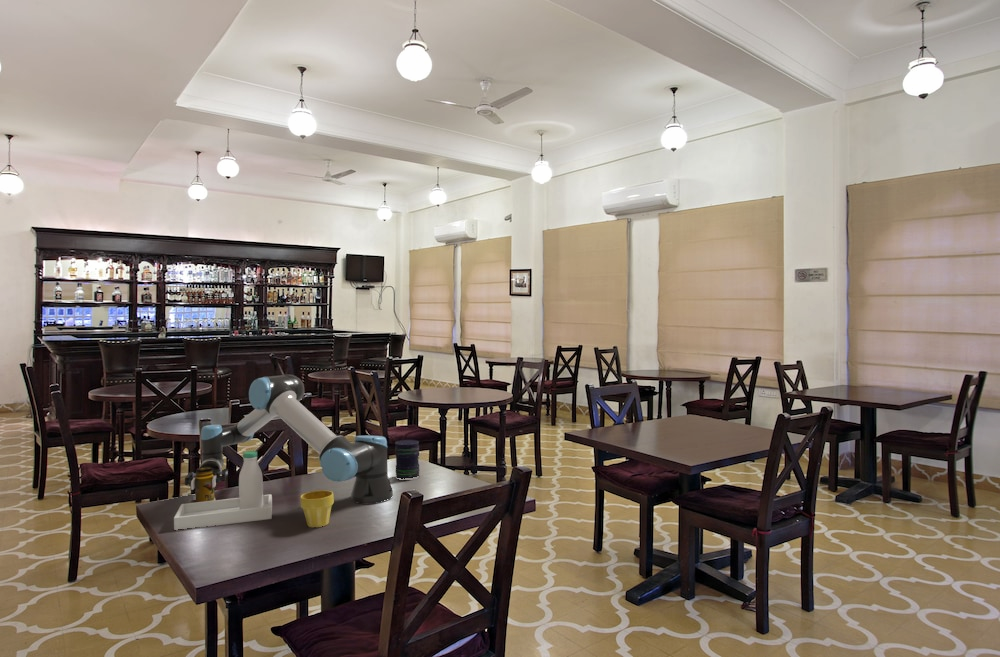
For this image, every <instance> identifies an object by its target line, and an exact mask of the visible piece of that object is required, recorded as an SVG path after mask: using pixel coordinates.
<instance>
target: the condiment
mask: <svg viewBox="0 0 1000 657" xmlns="http://www.w3.org/2000/svg"><path fill="white" fill-rule="evenodd" d="M195 473H196V477H195V488H194V489H195V491H194V492H195V493H194V494H195V499H189V500H188V503H196V502H205V501H214V500H216V497H215V487H213V488H212V479H213V477H214V475H213V474H212V473H213V472H212V467H201V468H200V467H198V468H196V469H195Z"/></svg>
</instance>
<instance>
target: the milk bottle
mask: <svg viewBox="0 0 1000 657" xmlns="http://www.w3.org/2000/svg"><path fill="white" fill-rule="evenodd" d="M242 459H243V462H242V467H241V470H240V471H239V476H238V498H239V509H240V510H241V509H250V508H258V507H263V495H264V481H263V479H264V478H263V472H262V470H261V467H260V466H259V463H258V451H256V450H249V451H248V450H247V451H245V452H243V453H242Z"/></svg>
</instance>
